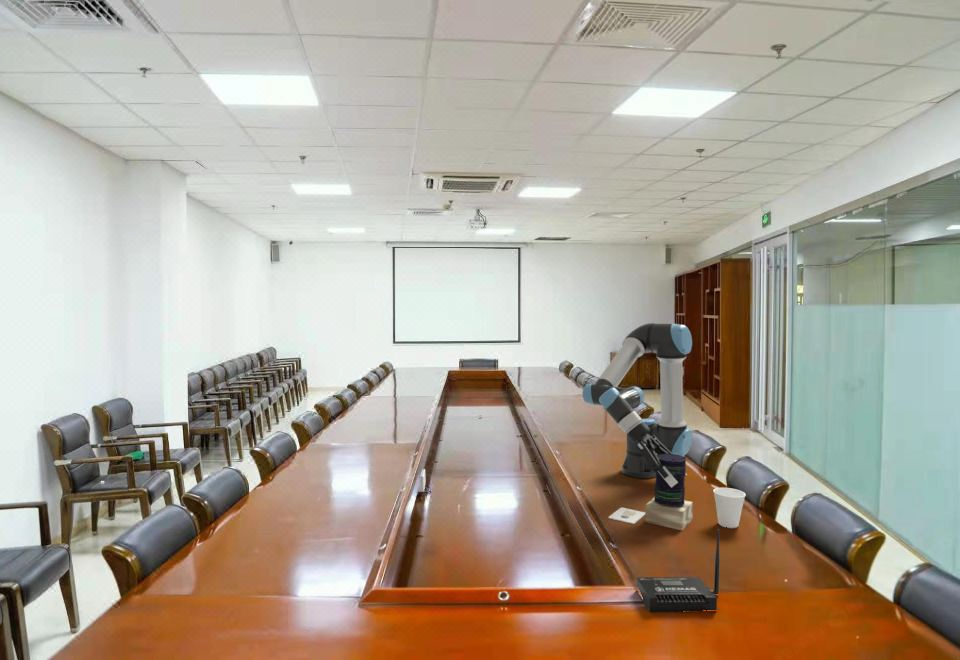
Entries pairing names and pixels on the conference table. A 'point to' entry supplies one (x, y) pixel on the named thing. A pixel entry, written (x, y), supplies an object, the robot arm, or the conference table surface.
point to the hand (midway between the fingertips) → (679, 481)
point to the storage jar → (662, 488)
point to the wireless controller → (680, 591)
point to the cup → (729, 506)
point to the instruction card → (627, 515)
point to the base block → (669, 514)
